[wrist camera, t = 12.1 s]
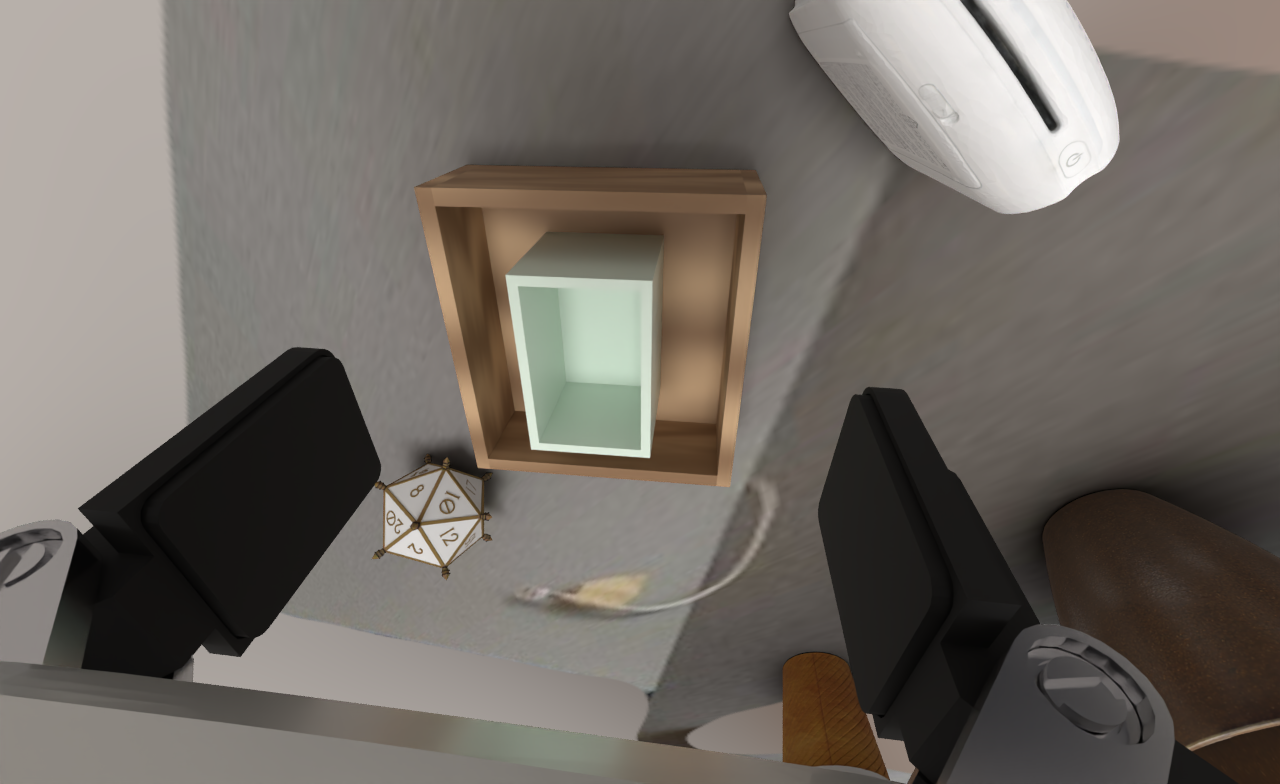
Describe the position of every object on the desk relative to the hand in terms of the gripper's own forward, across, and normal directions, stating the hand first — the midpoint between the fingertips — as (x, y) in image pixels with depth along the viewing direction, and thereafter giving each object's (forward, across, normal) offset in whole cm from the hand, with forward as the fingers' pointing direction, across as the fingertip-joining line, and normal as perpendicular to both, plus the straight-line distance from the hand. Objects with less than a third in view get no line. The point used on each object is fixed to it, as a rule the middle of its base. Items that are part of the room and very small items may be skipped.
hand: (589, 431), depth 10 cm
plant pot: (+21, -32, +23) cm, 44 cm away
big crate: (+21, +3, +8) cm, 23 cm away
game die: (+21, +16, +23) cm, 35 cm away
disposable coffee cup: (+20, -16, +45) cm, 52 cm away
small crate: (+20, +3, +8) cm, 22 cm away
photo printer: (+22, -10, -5) cm, 25 cm away
